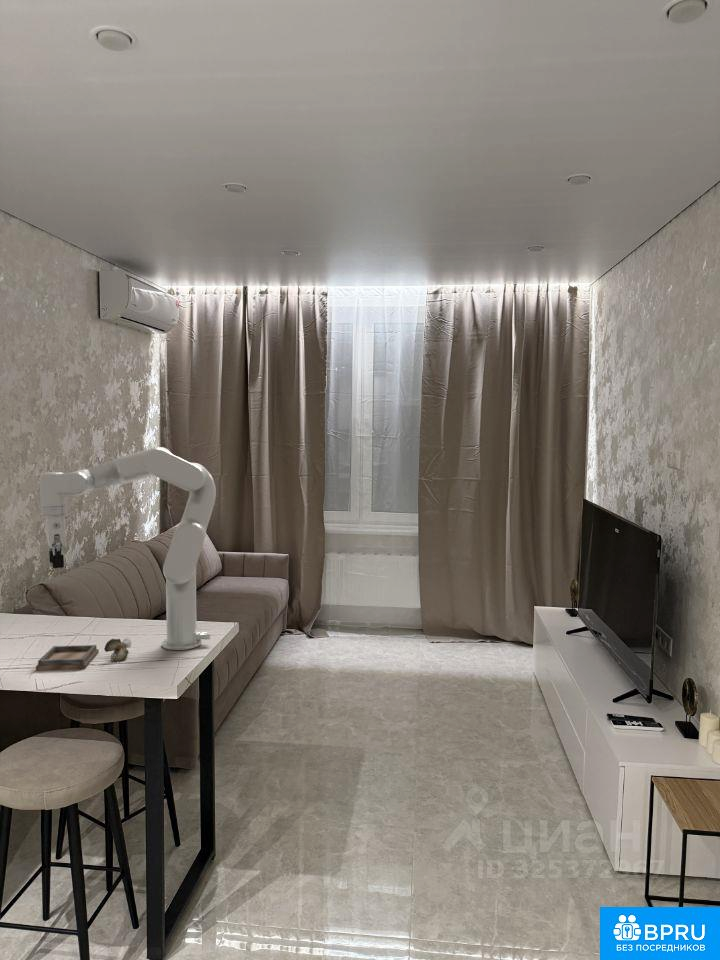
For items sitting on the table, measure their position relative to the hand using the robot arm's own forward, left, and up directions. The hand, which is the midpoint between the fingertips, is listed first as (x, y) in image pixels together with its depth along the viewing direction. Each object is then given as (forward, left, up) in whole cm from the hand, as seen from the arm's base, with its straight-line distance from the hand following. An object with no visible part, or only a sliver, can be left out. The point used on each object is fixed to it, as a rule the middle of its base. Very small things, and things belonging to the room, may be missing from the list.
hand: (56, 565), depth 226 cm
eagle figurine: (-20, +9, -28) cm, 36 cm away
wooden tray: (-6, +11, -28) cm, 30 cm away
